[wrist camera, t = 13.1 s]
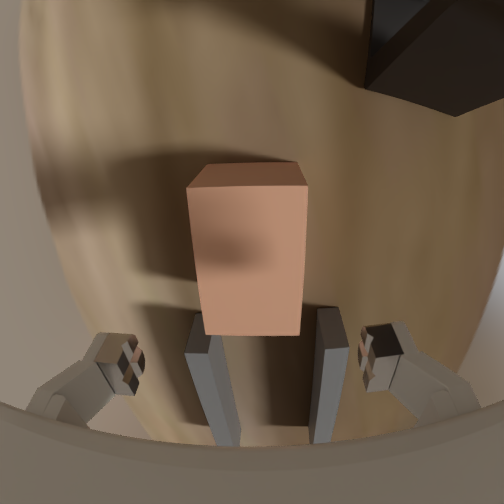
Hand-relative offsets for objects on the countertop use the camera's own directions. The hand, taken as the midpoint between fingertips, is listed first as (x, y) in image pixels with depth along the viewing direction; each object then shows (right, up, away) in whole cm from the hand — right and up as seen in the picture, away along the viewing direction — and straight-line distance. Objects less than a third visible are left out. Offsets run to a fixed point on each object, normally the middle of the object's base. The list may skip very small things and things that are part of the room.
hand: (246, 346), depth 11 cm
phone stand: (+10, +16, +2) cm, 19 cm away
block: (0, +5, +8) cm, 10 cm away
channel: (+2, -8, +15) cm, 17 cm away
